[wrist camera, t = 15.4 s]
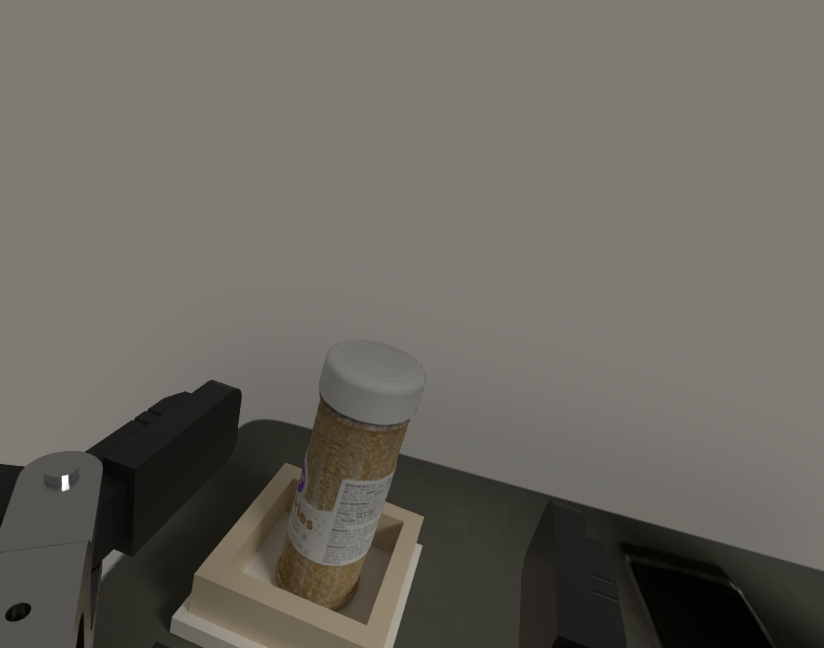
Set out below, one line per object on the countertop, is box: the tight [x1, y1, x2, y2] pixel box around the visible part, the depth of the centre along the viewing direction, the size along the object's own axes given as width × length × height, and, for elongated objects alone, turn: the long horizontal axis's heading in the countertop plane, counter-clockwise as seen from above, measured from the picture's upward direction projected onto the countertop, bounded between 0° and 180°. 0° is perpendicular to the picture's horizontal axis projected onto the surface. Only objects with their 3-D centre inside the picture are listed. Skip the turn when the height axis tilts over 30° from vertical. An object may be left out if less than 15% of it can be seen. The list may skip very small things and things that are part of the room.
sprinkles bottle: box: [275, 340, 426, 611], centre depth 25 cm, size 5×5×13 cm
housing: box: [170, 463, 424, 648], centre depth 27 cm, size 10×10×4 cm
